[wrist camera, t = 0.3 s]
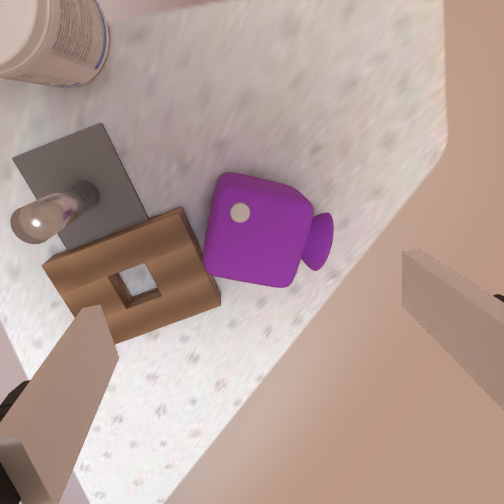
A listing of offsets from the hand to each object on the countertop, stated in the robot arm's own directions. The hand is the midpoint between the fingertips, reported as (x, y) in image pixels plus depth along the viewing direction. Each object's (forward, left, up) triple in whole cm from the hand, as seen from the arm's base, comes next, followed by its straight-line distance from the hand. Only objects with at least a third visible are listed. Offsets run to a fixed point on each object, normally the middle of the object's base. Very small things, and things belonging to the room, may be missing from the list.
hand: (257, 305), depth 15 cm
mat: (-5, -15, -27) cm, 31 cm away
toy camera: (+4, +2, -27) cm, 27 cm away
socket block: (+6, -14, -27) cm, 31 cm away
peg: (-5, -15, -26) cm, 31 cm away
